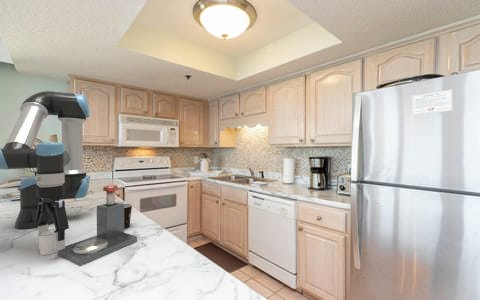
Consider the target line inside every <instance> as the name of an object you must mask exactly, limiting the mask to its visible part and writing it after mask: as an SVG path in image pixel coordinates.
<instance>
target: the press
mask: <svg viewBox="0 0 480 300" xmlns="http://www.w3.org/2000/svg"><path fill="white" fill-rule="evenodd" d="M124 204H125V203H121V202H117V201H115V205H113V206H106V203H101V204H98V205H96V235H94V236H92V237H87V238H85V239H83V240H82V239H81V240H80V241H75V242H73V243H70V244H68V245H65V249H62V250H59V251H58V252H57V255H58V256H60V257H61V258H64V259H66V260H67V261H70V262H71V263H75V264H76V265H78V266H84V265H87V264H88V263H91V262H93V261H95V260H98V259H100V258H102V257H105V256H107V255H108V254H112V253H114V252H116V251H119V250H121V249H123V248H126V247H127V246H131V245H132V244H135V243H137V242H138V236H137V235H133V234H130V233H126V232H125V229H124Z"/></svg>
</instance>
